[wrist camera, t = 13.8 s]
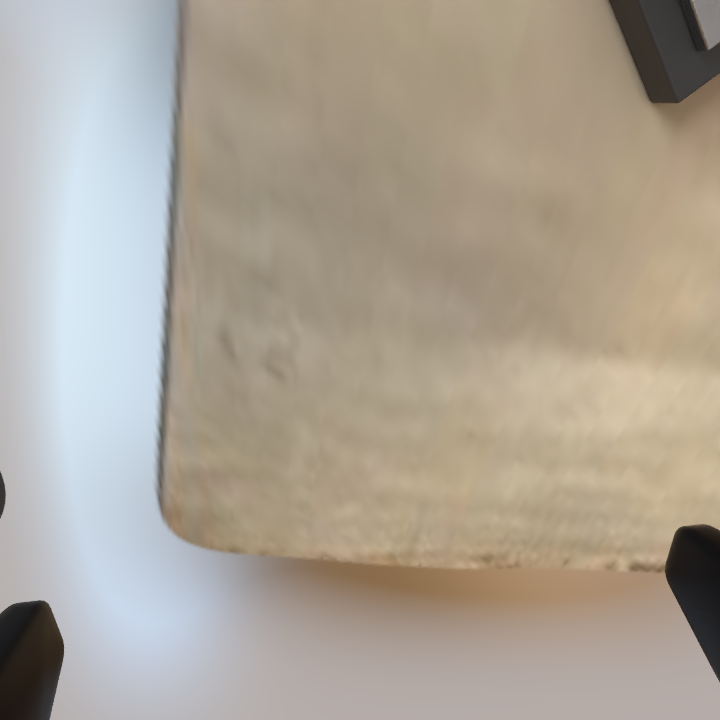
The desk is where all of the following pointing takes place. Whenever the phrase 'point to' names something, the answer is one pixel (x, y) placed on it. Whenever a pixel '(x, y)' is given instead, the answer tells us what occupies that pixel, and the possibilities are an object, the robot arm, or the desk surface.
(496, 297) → the desk surface
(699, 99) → the desk surface
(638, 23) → the scale
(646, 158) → the desk surface
